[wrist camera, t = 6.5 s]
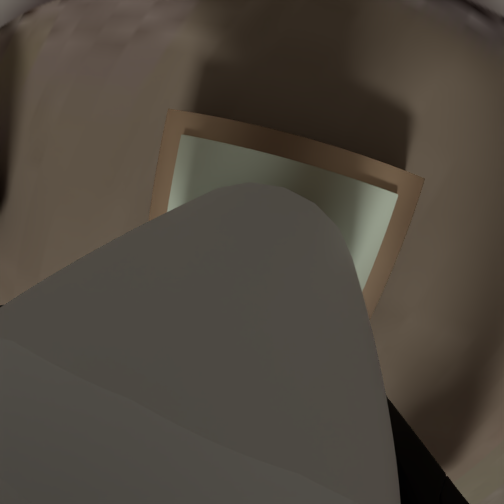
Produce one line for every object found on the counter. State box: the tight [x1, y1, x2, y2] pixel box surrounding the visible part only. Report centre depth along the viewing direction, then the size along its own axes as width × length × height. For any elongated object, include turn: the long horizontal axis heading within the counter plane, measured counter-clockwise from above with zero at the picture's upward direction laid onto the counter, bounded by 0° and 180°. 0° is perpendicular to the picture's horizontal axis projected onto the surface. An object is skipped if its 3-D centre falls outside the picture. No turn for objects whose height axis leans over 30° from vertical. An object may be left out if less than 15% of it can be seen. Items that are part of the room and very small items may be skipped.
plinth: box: [148, 109, 425, 320], centre depth 15 cm, size 11×11×3 cm
